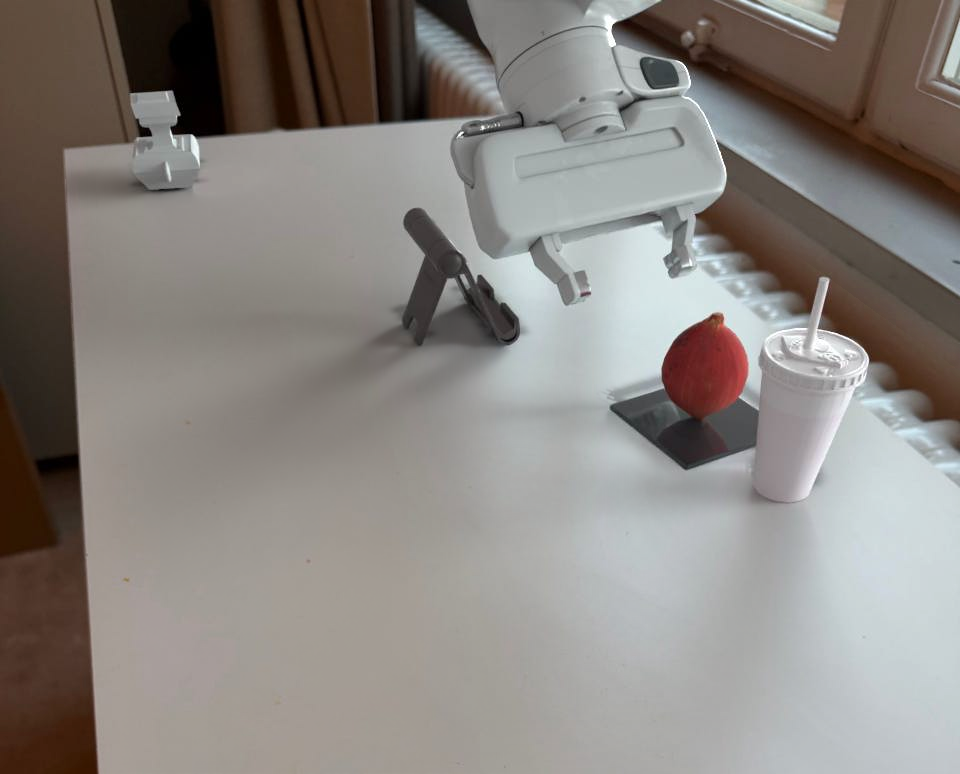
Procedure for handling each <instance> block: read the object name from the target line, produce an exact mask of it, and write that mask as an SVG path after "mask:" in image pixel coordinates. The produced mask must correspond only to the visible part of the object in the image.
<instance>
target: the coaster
mask: <svg viewBox="0 0 960 774" xmlns="http://www.w3.org/2000/svg"><path fill="white" fill-rule="evenodd" d="M609 410H610V411H611V412H612V413H613V414H615V416H617V417H618V418H619V419H620V420H622V421H623V422H625V423H626V424H627V425H629V426H630V427H631V428H632V429H633V430H634V431H636V432H637V433H638V434H639V435H641V436H642V437H643V438H645V439H646V440H647V441H648V442H650V443H651V444H652V445H653V446H655V447H656V448H657V449H658V450H659V451H661V452H662V453H663V454H664V455H666V456H667V457H668V458H670V459H671V460H673V461H674V462H675V463H676V464H677V465H679V466H680V467H681V468H682V469H684V471H689V470H692V469H695V468H698V467H700V466H703V465H706V464H709V463H712V462H714V461H719V460H721V459H724V458H726V457H729V456H732V455H735V454H738V453H741V452H744V451H747V450H750V449H753V448H756V440H757V428H758V416H759V409H758V408H756V407H754V406H753V405H752V404H750V403H749V402H747V401H746V400H744V399H743V398H742V397H740V396H739V397H738V398H737V400H736V401H735V402H734V403H732V404H731V405H729V406H728V407H726V408H724V409H723V410H721V411H719V412H717V413H714V414H711V415H709V416H708V417H706V418H704V419H694V418H693V417H691V416H690V415H689V414H688V413H686V412H685V411H683V410H682V409H681V408H679V407H678V406H677V405H675V404H674V403H673V401H672V400H671V399H670V398H669V396H668V394H667V392H666V390H665V388H664V387H663V388H661V389H657V390H654V391H650V392H648V393H645V394H642V395H638V396H634V397H631V398H628V399H624V400H622V401H619V402H615V403H612V404H610V406H609Z"/></svg>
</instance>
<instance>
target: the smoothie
mask: <svg viewBox="0 0 960 774" xmlns="http://www.w3.org/2000/svg"><path fill="white" fill-rule="evenodd" d="M829 283H830V278H829V277H827V276H821V277H819V279H818V283H817V287H816V292H815V296H814V300H813V304H812V309H811V313H810V316H809V321H808V325H807V328H791V329H785V330H781V331H777V332H774V333H772V334H771V335H769V336H768V337H766V338H765V340H764V341H763V342H762V344H761V348H760V353H759V355H758V357H757V359H758V360H757V361H758V367H759V368H760V370H761V378H760V390H759V391H760V392H759V403H758V410H759V416H758V428H757V440H756V446H755V455H754V465H753V478H752V479H753V480H752V486H753V488H754V489H755V491H756V492H757V493H758V494H759V495H760V496H762V497H764V498H765V499H768V500H771V501H774V502H778V503H786V504H787V503H789V504H790V503H797V502H801V501H803V500H804V499H806V498H807V497H808V496H809V495H810V493H811V491H812V488H813V485H814V484H815V481H816V479H817V476H818V475H819V472H820V470H821V467H822V466H823V463H824V460H825V458H826V457H827V454H828V451H829V449H830V447H831V444H832V443H833V440H834V438H835V435H836V433H837V431H838V429H839V426H840V425H841V422H842V420H843V417H844V415H845V413H846V410H847V408H848V407H849V405H850V401H851V399H852V397H853V395H854V392H855V390H856V388H858V387H860V385H862V384H863V383H864V382H865V380H866V377H867V375H868V374H867V371H868V368H869V364H870V357H869V355H868V353H867V352H866V351H865V349H864V347H862V346H861V345H860V344H859V343H858V342H857V341H855V340H853V339H850V338H849V337H846V336H844V335H841V334H839V333H836V332H831V331H828V330H823V329H818V328H819V323H820V321H821V316H822V312H823V308H824V303H825V299H826V296H827V292H828V288H829Z"/></svg>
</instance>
